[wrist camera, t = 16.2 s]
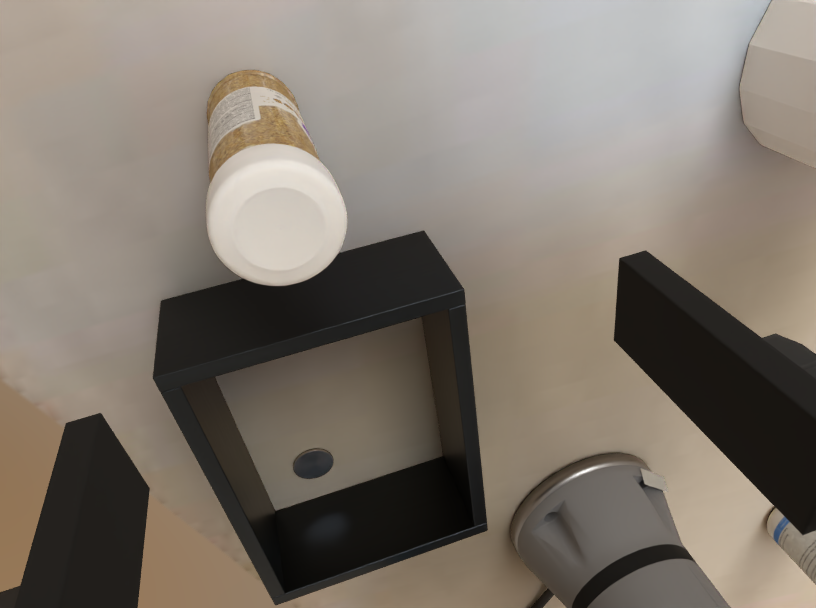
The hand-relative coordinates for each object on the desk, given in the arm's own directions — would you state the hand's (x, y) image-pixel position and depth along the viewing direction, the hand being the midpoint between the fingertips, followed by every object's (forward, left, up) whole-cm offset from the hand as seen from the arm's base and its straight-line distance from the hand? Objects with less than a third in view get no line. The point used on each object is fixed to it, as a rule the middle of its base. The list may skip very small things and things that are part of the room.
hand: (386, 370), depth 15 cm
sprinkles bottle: (+1, +2, -20) cm, 20 cm away
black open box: (-19, +2, -20) cm, 27 cm away
